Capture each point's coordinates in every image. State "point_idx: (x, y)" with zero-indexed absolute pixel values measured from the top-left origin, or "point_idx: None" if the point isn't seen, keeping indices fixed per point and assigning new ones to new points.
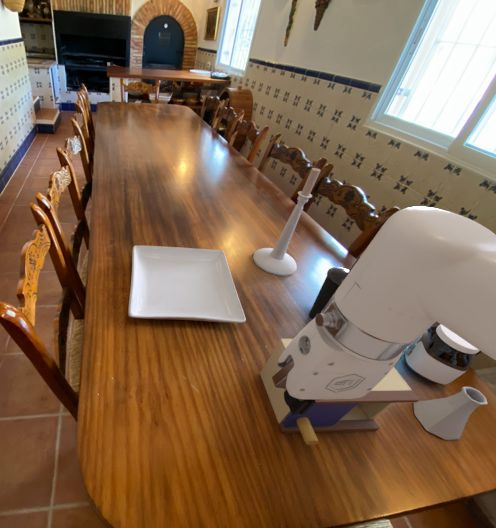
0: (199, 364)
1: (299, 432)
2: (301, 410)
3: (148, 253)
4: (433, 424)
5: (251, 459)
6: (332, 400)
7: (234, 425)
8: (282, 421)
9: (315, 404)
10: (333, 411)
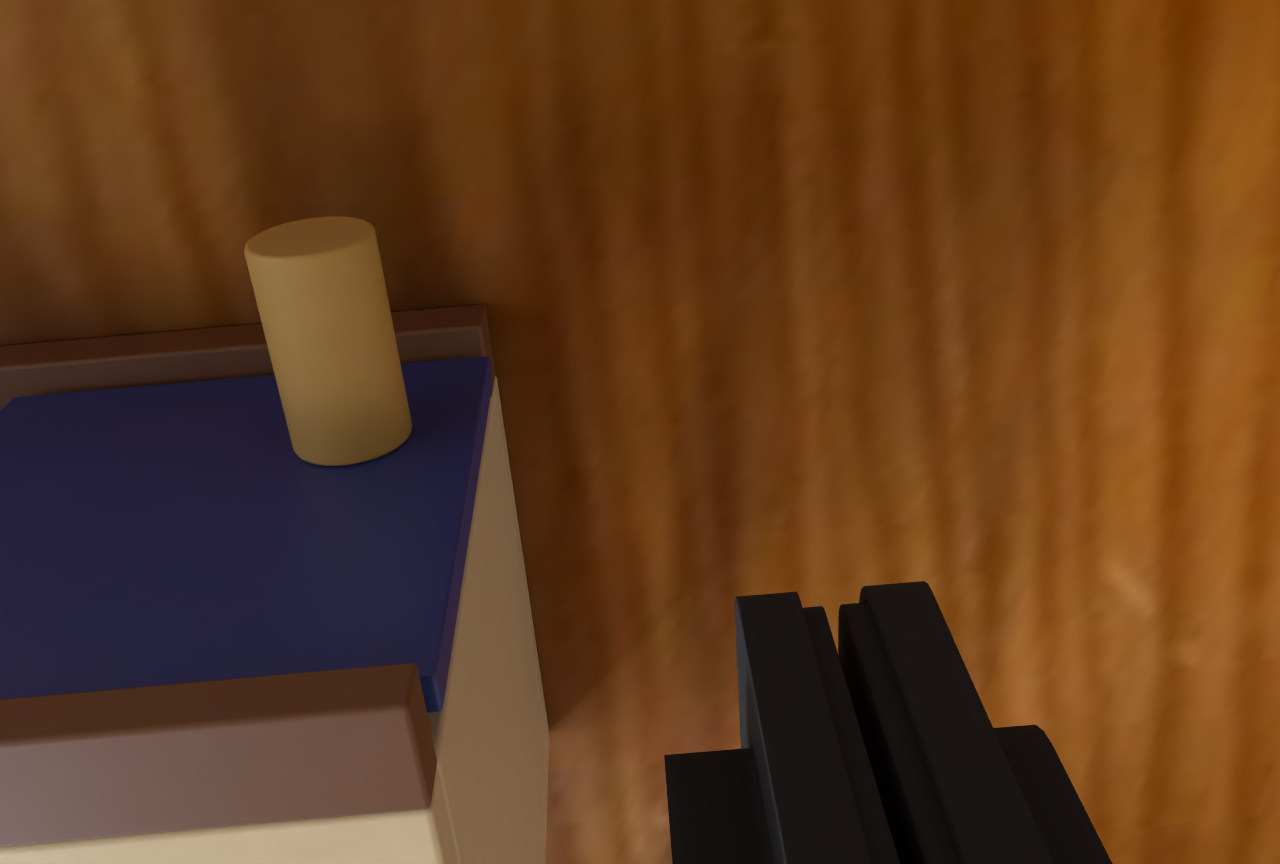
0: None
1: None
2: (840, 680)
3: None
4: None
5: (827, 80)
6: (91, 745)
7: (891, 336)
8: None
9: (289, 644)
10: (33, 556)
